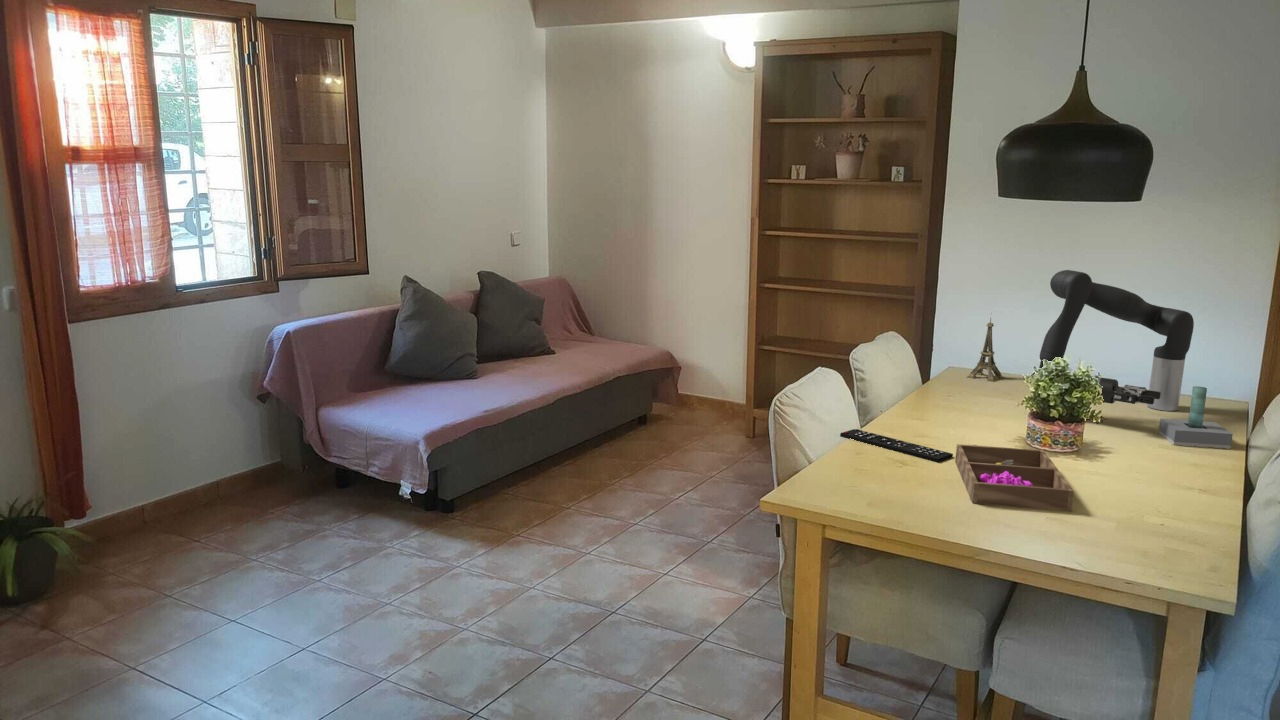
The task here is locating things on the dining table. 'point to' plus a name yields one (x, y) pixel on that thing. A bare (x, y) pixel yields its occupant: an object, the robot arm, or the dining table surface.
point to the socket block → (1195, 434)
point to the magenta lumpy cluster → (1004, 479)
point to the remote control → (897, 445)
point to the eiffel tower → (990, 364)
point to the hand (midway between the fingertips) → (1157, 398)
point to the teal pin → (1197, 407)
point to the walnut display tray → (1026, 463)
